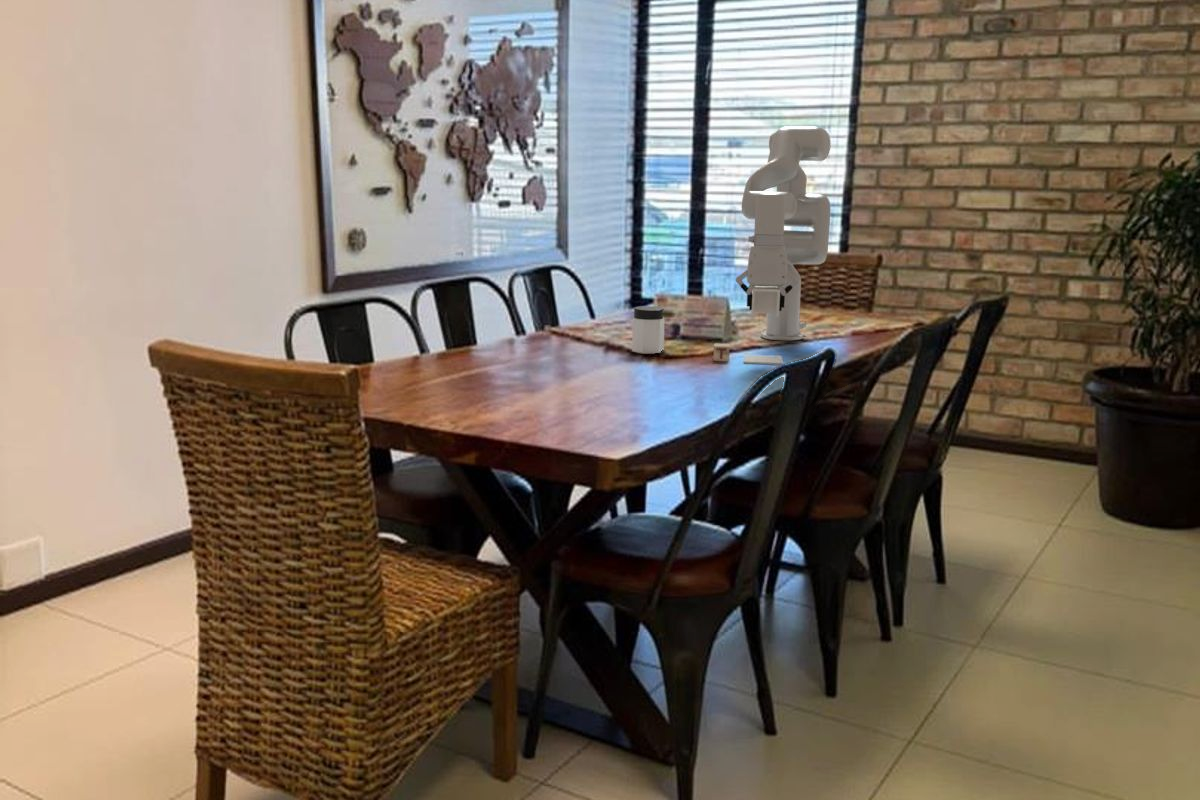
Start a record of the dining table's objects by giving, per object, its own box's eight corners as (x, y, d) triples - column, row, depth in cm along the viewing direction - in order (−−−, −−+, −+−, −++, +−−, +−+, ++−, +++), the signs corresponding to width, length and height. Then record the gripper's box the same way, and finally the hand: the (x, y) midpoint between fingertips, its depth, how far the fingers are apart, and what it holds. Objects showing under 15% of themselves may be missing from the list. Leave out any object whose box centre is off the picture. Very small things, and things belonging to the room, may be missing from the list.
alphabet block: (751, 312, 273) (752, 285, 271) (778, 312, 272) (779, 286, 270) (751, 315, 266) (752, 288, 265) (778, 316, 265) (780, 289, 264)
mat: (744, 356, 278) (744, 354, 278) (781, 357, 276) (781, 355, 276) (743, 363, 268) (743, 361, 268) (782, 364, 267) (782, 363, 267)
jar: (670, 352, 283) (671, 308, 280) (647, 355, 278) (648, 311, 275) (648, 347, 290) (649, 305, 287) (626, 350, 285) (627, 307, 282)
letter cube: (713, 358, 275) (714, 343, 275) (728, 358, 275) (729, 343, 274) (713, 361, 271) (713, 346, 271) (728, 361, 271) (729, 346, 270)
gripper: (734, 241, 262) (731, 310, 266) (803, 243, 260) (799, 313, 264) (734, 239, 270) (732, 307, 274) (802, 241, 267) (798, 309, 271)
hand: (765, 309), depth 269 cm, fingers closed on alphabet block, 7 cm apart
